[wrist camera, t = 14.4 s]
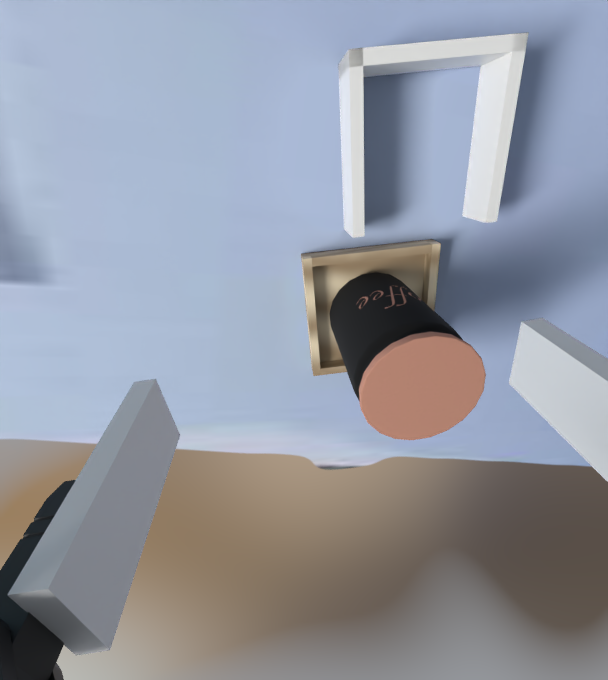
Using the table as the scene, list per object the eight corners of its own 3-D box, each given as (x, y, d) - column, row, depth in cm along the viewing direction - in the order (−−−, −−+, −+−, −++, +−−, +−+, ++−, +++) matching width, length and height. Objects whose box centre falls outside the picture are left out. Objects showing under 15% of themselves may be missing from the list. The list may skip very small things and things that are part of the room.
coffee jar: (423, 284, 43) (512, 355, 27) (387, 353, 48) (445, 450, 32) (346, 257, 41) (395, 319, 25) (316, 334, 45) (340, 427, 29)
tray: (301, 253, 41) (302, 259, 39) (431, 239, 42) (440, 243, 39) (311, 366, 49) (313, 375, 46) (422, 352, 49) (429, 361, 47)
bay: (338, 64, 33) (348, 49, 28) (494, 49, 33) (528, 32, 29) (344, 229, 40) (353, 237, 36) (472, 215, 41) (496, 221, 36)
